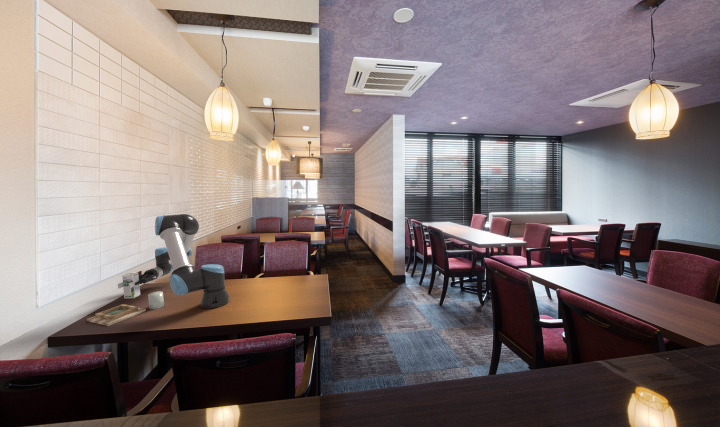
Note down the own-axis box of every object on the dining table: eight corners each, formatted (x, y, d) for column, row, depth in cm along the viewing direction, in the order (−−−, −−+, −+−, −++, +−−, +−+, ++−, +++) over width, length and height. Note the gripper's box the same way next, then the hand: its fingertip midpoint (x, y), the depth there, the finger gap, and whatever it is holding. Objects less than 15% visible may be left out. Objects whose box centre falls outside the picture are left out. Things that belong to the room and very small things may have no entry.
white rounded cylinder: (166, 305, 166) (165, 292, 165) (154, 310, 160) (153, 296, 159) (158, 303, 169) (157, 290, 168) (146, 308, 162) (145, 295, 161)
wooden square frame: (146, 311, 159) (145, 305, 158) (108, 326, 142) (107, 320, 141) (125, 307, 165) (124, 301, 164) (87, 321, 148) (86, 315, 148)
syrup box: (123, 298, 168) (121, 275, 167) (131, 295, 174) (129, 272, 173) (133, 298, 168) (131, 274, 167) (141, 294, 174) (138, 271, 173)
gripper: (167, 279, 188) (140, 291, 165) (139, 280, 189) (108, 292, 166) (166, 268, 188) (139, 279, 165) (138, 269, 188) (107, 280, 165)
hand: (124, 286), depth 165 cm, fingers closed on syrup box, 6 cm apart
